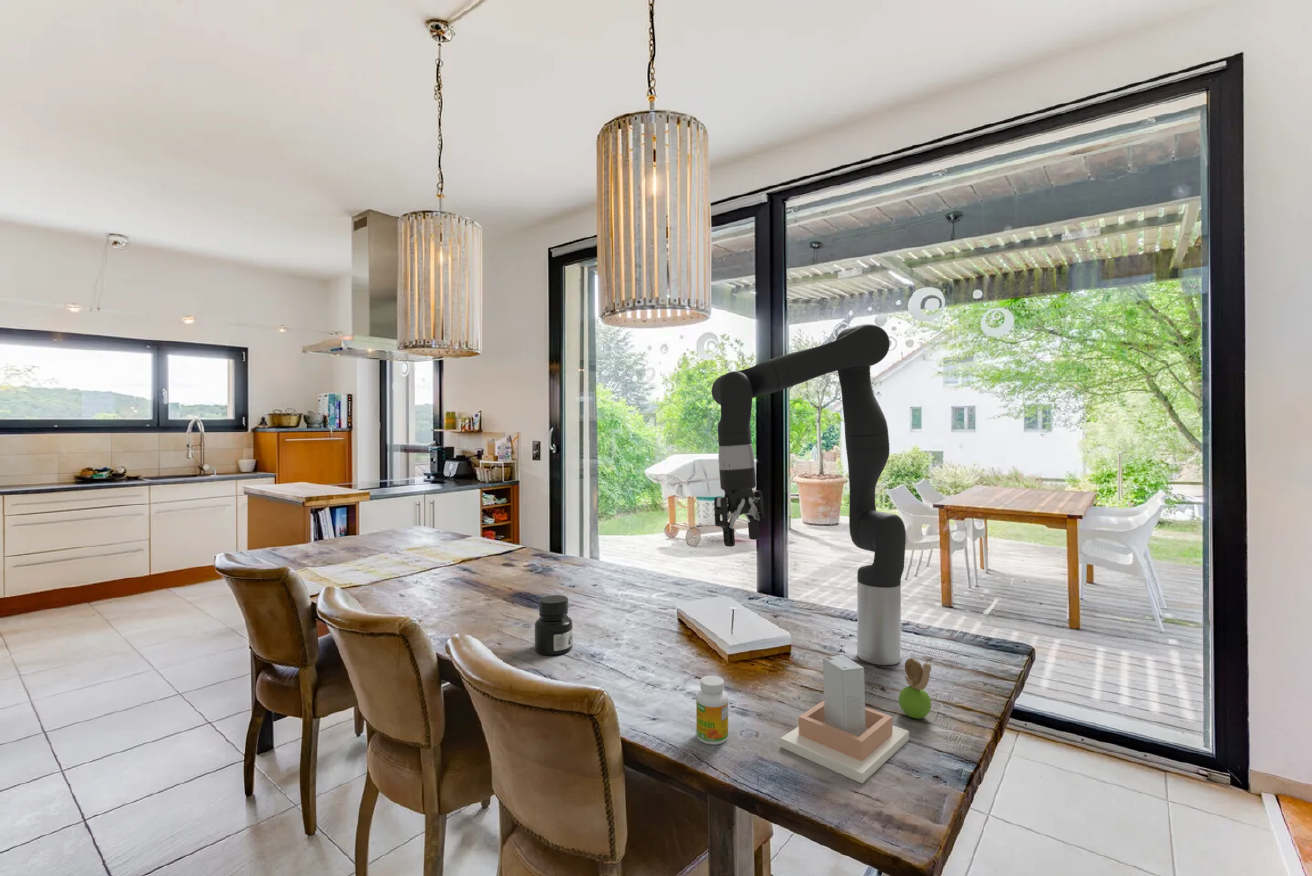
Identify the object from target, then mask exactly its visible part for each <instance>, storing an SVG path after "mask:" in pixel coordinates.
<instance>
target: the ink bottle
mask: <svg viewBox="0 0 1312 876" xmlns="http://www.w3.org/2000/svg"><path fill="white" fill-rule="evenodd" d="M568 613H569V598H568V596H565V595H561V594H560V595H559V594H551V595H546V596H542V597H540V598H539V599H538V616H539V617H538V619H537V620H536V621H535V622H534V650H535V652H536V653H538V654H540V655H545V656H558V655H559V656H560V655H563V654H566V653H568V652H569V651H571V650H572V649H573V645H574V644H573V643H574V642H573V641H574V640H573V637H574V636H573V635H574V634H573V627H574V626H573V619H572V618H570V617H569V615H568Z"/></svg>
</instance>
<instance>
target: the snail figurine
mask: <svg viewBox="0 0 1312 876" xmlns="http://www.w3.org/2000/svg"><path fill="white" fill-rule="evenodd" d="M932 661H933V658H932V657H929V658H928V657H927V658H925V662H926V663H923V665H922V664H921V663H920V661H919V660H917V659H916V658H912V657H910V658H908V659H906V660H905V663H904V671H905V676H904V678H905V679H904V680H905V681H906V683H907V685H908V686H905V687H904V688H903V689H901V691H900V692H899V695H898V704H899V707H900V708H901V710H902V712H903V713H904V714H905V715H907V717H910V718H913V719H917V720H918V719H923V718H925V717H927V716H928V715H929V713H930V712H931V710H932V699H931V696H930V695H929V694H928V692H927V691H926V690H925V689H926V688H927V686H928V684H929V681H930V674H931V670H932V666H931V664H932ZM928 662H930V663H928Z"/></svg>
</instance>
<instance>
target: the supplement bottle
mask: <svg viewBox="0 0 1312 876" xmlns="http://www.w3.org/2000/svg"><path fill="white" fill-rule="evenodd" d="M695 703H696V709H695V710H696V713H695V714H696V722H695V723H696V726H695V727H696V728H695V729H696V732H695V733H696V734H695V735H696V737H697V739H698V740H699V741H700V742H701V743H704V744H707V745H710V746H711V745H713V746H714V745H721V744H724V743H725V742H726V741H727V740H728V737H729V696H728V694H727V692H726V691H725V680H724V679H723V678H722V677H720V676H719V675H718V676H717V675H706V676H705V675H704V676H703V677H701V678H700V690H698V692H697V693H696V702H695Z"/></svg>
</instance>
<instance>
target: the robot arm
mask: <svg viewBox="0 0 1312 876" xmlns="http://www.w3.org/2000/svg"><path fill="white" fill-rule="evenodd" d="M890 343H891V342H890V338H889V334H888V333H887V331H886V330H885V329H883V328H882V327H881V326H879V325H876V324H872V323H864V324H859V325H856V326H851V327H847V328H845V329H843V330H841V332H839V333H838V335H837V336H836V337H835V340H833V341H830V342H827V343H825V344H824V343H823V344H822V345H818V346H815V347H811V348H806V349H801V350H797V351H793V352H791V353H787V354H783V355H780V356H776V357H773V358H770V359H768V360H764V361H762V362H760V363H758V364H755V365H753V366H752V367H748V368H744V369H741V370H737V371H736V370H735V371H730V372H727V373H725V374H723V375H721V376H719V377H718V378H716V379H715V381H714V382H713V384H712V386H711V391H710V393H711V396H712V398H713V400H714V401H715V402H716V403H717V404H718V405H719V406H720V419H719V421H718V422H717V423H718V424H717V439H718V454H717V455H718V469H719V470H718V471H719V483H720V489H721V490H722V491H724V497H722V496H721V497H719V496H717V497H714V499H713V501H714V502H713V504H714V505H713V506H714V524H715V527H720V528H721V529H722V536H723V537H722V539H723V543H724V546H725V547H730V548H731V547H732V548H733V547H735V546H736V541H735V540H736V539H735V528H734V527H735V524H736V522H737V520H738V519H739V517H740V516H742V515H744V516H745V517H746V519H747V520H748V522H747V526H748V538H749V540H751V541H752V540H754V541H756V540H759V539H760V527H759V526H760V525H759V522H760V521H761V518H763V519H764V518H765V516H766V515H765V505H764V504H765V503H764V496H763V495H764V493H763V491H762V490H756V489H755V488H756V487H757V480H756V469H755V468H756V467H755V455H754V449H753V443H752V432H751V431H752V430H751V418H752V408H753V399H755V398H757V397H760V396H763V395H770V394H773V393H776V392H777V393H778V392H780V391H782V390H786V389H788V388H789V389H790V388H791V387H794V386H797V385H799V384H802V383H805V382H807V381H810V380H812V379H813V380H814V379H816V378H818V377H822V376H824V375H826V374H827V375H828V374H830V373H834V372H837V374H838V380H839V385H840V391H841V392H840V393H841V402H842V411H843V412H842V415H843V424H844V437H845V438H844V439H845V440H844V441H845V449H846V456H847V469H848V484H849V485H848V486H849V505H848V506H849V509H848V511H849V513H848V515H849V518H848V519H849V522H848V524H849V527H848V528H849V534H850V539H851V542H852V543H853V544H854V545H855V547H856V548H859V549H860V550H864V551H869V552H873V553H874V555H873V556H874V557H873V561H872V563H871V564H868V565H867V564H866V565H863V566H860V567H859V568H858V570H857V573H856V575H857V580H856V581H857V586H856V587H857V592H856V594H857V595H856V596H857V598H856V599H857V600H856V601H857V602H856V603H857V604H856V605H857V609H856V613H857V614H856V615H857V619H856V621H857V625H856V627H857V629H856V631H857V634H856V635H857V636H856V637H857V639H856V641H857V642H856V647H857V648H856V651H857V653H856V655H857V657H858V659H860V660H862V661H864V662H867V663H870V664H874V665H879V666H892V665H897V664H899V663H900V662H901V646H902V645H901V644H902V643H901V634H902V633H901V631H902V630H901V627H902V625H901V624H902V623H901V622H902V619H901V617H902V615H901V614H902V613H901V612H902V610H901V609H902V607H901V606H902V604H901V603H902V602H901V601H902V597H901V596H902V595H901V593H902V592H901V590H902V584H901V583H902V576H903V573H904V569H905V557H906V556H905V555H906V541H907V535H906V534H907V533H906V527H905V522H904V521H903V519H902V518H901V517H900V516H899V515H897V514H895V513H891V512H883V511H878V510H877V505H876V488H877V487H876V486H877V484H878V481H879V478H880V476H881V475H882V473H883V471H884V469H885V467H886V464H887V462H888V460H889V456H890V439H889V427H888V423H887V419H886V417H885V414H884V412H883V410H882V408H881V406H880V404H879V402H878V400H877V397H876V395H875V393H874V390H873V386H872V380H871V367H872V366H874V365H876V364H879V363H880V362H881V361H882V360H884V359H885V357H886V356H887V355H888V353H889V350H890V346H891V344H890ZM753 489H755V490H753ZM758 510H759V511H758ZM721 518H722V519H721Z"/></svg>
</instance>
